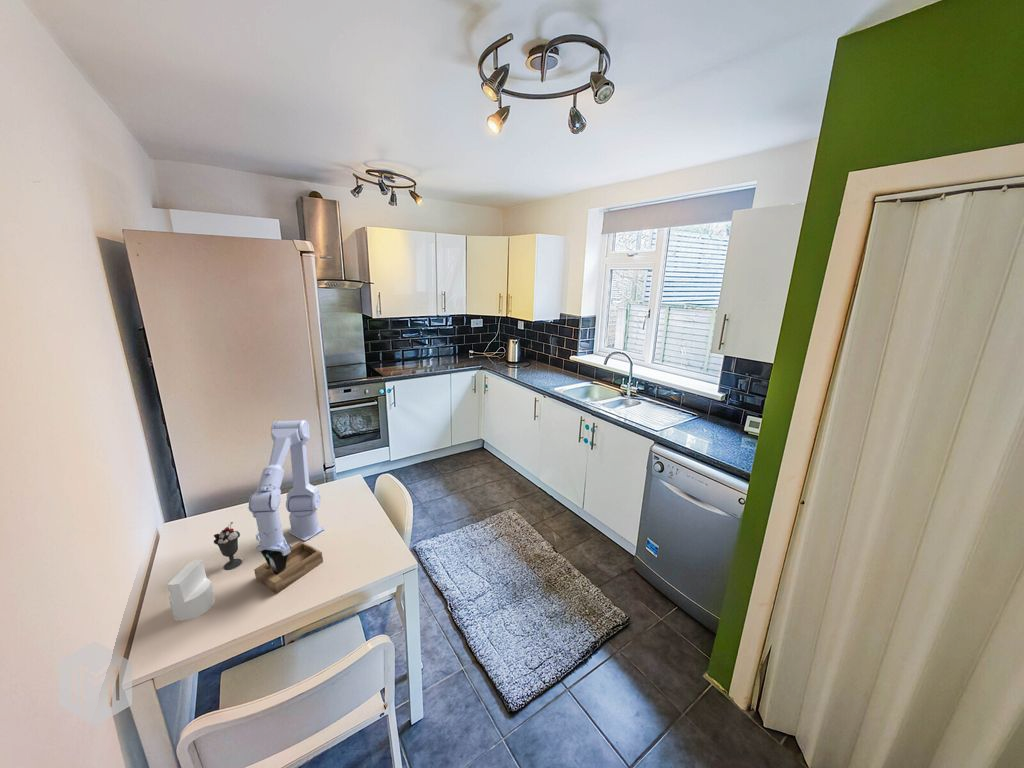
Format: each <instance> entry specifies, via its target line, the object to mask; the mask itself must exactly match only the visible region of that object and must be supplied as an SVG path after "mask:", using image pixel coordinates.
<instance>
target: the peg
mask: <svg viewBox="0 0 1024 768" xmlns="http://www.w3.org/2000/svg"><path fill="white" fill-rule="evenodd" d="M272 552H274V551H273V550H269V551H267V553H266V557H267V558H269V560H270V564H271V568H272V572H273V573H274V574H275V575H278V574H279V573H281V572H282V571H284V570H285V569H286V568H284V569H282V570H281V571H278V570H277V568H276V566H275V563H274V561H273V560H272V558H271V557H269V556H268V555H269V554H270V553H272Z"/></svg>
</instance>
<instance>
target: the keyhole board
mask: <svg viewBox="0 0 1024 768" xmlns="http://www.w3.org/2000/svg"><path fill="white" fill-rule="evenodd" d="M322 563H324V557H323V552H322V551H320V550H319V549H317V548H315V547H313V546H311V545H310V544H308V543H305V541H304V542H303V540H301V541H299V542H297V543H296V544H294V545H292V546H291V552H290V553H289V554H288V557H287V562H286V569H285V570H284V571H282V572H281V573H279V574H278V575H275V574H274V573H273V572H272V568H271V565H268V563H267V561H265V562H264V563H263V564H261V565H258V567H256V568H255V569H253V571H254V575H255V579H256V581H257V582H259V583H260V584H261V585H263V586H264V587H266V588H268V589H269V590H271V591H272V592H274V594H279V593H281V592H282V591H284V590H285V589H286V588H288V587H289V586H291V585H292V584H293V583H295V582H296V581H298V580H299V579H301V578H302V577H304V576H305V575H306V574H309V572H311V571H312V570H314V569H315V568H317V567H318V566H319V565H321V564H322Z"/></svg>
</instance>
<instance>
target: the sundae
mask: <svg viewBox="0 0 1024 768" xmlns="http://www.w3.org/2000/svg"><path fill="white" fill-rule="evenodd" d="M233 523H234V522H233V521H231V522H230V523H229V525H228V526H226V527H225V528H224V529H223V530H221V531H220V532H219V533H216V534H213V537H214V538H215V539H214V540H213V544H214V545H217V546H218V548H219V551H220V553H221V554H222V556H223V557H226V558H227V557H228V558H229V561H227V562H226V563H225V564H224V565H223V570H227V571H230V570H233V569H237V568H238V567H240V566H241V565H242V563H243V559H241V558H235V557H234V556H235V554H236V553H237V552H238V550H239V549H238V548H239V544H238V543H239V542H238V540H239V539H238V538H240V536H241V534H240V531H238V530H235V529H234V528H232V524H233Z"/></svg>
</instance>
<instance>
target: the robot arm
mask: <svg viewBox="0 0 1024 768" xmlns="http://www.w3.org/2000/svg"><path fill="white" fill-rule="evenodd" d="M310 432H311V431H310V423H308V421H307V420H306V419H301V420H275V421H274V422H273V423H272V425H271V428H270V436H271V439H272V441H273V444H272V449H271V453H270V454H271V455H270V459H269V464H268V466H266V467H264V468H263V469H262V472H261V474H260V479H259V482H258V485H257V487H256V488H257V489H256V490H255V492H254V493H252V494H251V495H250V497H249V500H248V507H247V508H248V511H249V512H250V513H251V514H252V517H253V518H255V520H256V521H255V522H256V527H257V531H258V533H256V534H255V539H256V541H258V542H259V545H257V546H256V549H257V551H259V553H260V554H261V555H262V556H263V557H264V559H265V562H267V563H268V565H271V564H270V560H269V558H267V557H266V553H267V551H269V550H273V551H274V552H272V553H270V554H269V555H268V556H269V557H271V558H272V560H273V561H274V563H275V566H276V568H277V570H278V571H281V570H282V569H284V568H286V562H287V557H288V554H289V553H290V552H291V547H292V546H291V545H289V544H288V543H287V540H286V537H285V536H284V533H283V529H282V522H281V517H280V511H279V507H280V505H281V500H282V496H281V494H282V490H281V486H282V483H283V478H284V475H285V470H284V469H283V465H284V464H285V460H286V459H287V455H288V453H289V450H290V461H291V471H292V473H291V474H292V484H293V487H292V488H291V489H289V490H288V492H287V494H286V501H285V508H286V510H287V512H289V514H288V515H289V516H288V518H289V525H290V529H291V530H290V531H289V532H288V533H289V534H290V535H291V536H293V537H295V538H296V539H299V540H301V541H302V542H303V541H304V542H307V541H308V540H310V539H311V538H313V537H314V536H316V535H318V534H319V533H321V532H323V531H325V527H324V526H322V525H319V518H318V511H317V510H318V509H319V508H320V506H321V501H322V500H321V494H320V492H319V488H318V487H317V486H315V485H312V484H311V483H310V477H309V476H310V475H309V464H308V451H307V450H308V449H307V442H308V441H310V439H311V438H310V437H311V434H310Z"/></svg>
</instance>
